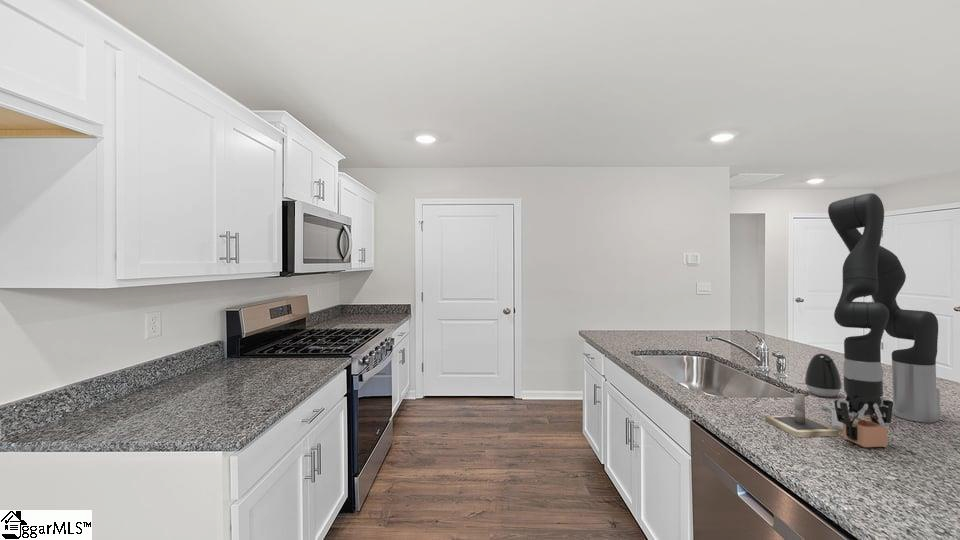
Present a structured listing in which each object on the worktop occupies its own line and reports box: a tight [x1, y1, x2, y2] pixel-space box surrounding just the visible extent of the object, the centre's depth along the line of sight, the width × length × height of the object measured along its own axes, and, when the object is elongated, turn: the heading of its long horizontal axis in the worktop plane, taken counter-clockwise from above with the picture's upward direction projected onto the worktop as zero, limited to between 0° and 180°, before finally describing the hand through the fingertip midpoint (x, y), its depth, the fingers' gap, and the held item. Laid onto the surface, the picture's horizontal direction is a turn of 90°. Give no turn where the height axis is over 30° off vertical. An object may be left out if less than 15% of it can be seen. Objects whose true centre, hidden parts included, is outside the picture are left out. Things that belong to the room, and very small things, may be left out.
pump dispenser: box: [804, 353, 843, 398], centre depth 145 cm, size 10×10×15 cm
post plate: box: [764, 392, 840, 438], centre depth 117 cm, size 12×12×10 cm
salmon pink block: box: [842, 417, 888, 448], centre depth 106 cm, size 6×6×5 cm
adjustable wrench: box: [821, 402, 843, 433], centre depth 124 cm, size 25×6×2 cm, turn 135°
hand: (864, 438), depth 106 cm, fingers closed on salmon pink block, 6 cm apart
